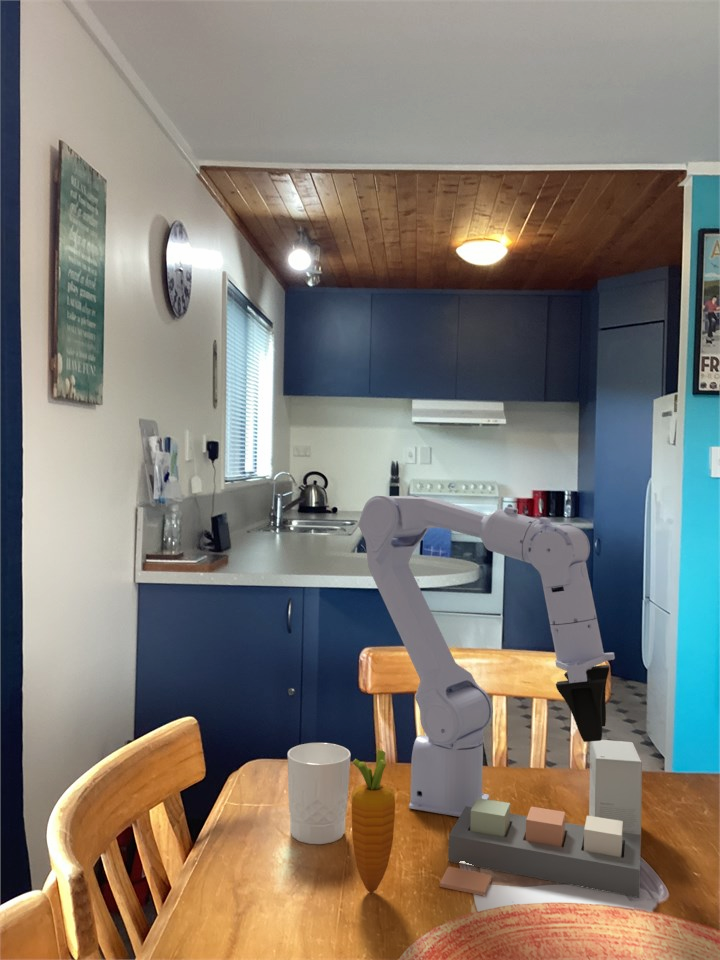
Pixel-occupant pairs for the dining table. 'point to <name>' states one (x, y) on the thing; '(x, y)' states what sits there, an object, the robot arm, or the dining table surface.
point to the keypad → (548, 856)
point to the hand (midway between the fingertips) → (594, 733)
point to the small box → (616, 783)
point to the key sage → (490, 817)
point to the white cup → (318, 791)
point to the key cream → (603, 836)
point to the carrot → (372, 823)
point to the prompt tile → (466, 880)
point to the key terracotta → (545, 826)
